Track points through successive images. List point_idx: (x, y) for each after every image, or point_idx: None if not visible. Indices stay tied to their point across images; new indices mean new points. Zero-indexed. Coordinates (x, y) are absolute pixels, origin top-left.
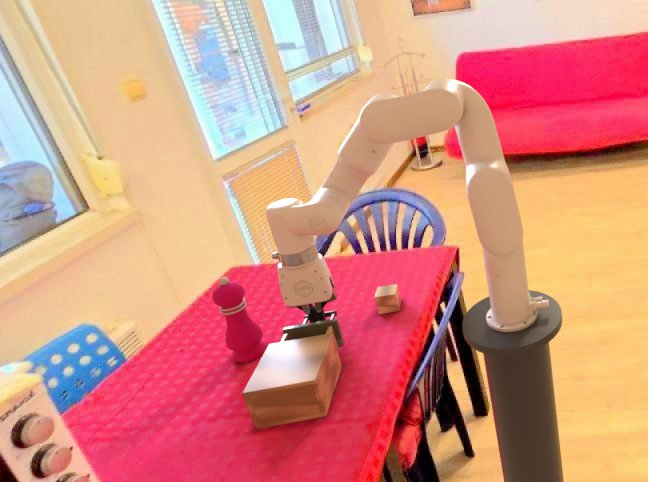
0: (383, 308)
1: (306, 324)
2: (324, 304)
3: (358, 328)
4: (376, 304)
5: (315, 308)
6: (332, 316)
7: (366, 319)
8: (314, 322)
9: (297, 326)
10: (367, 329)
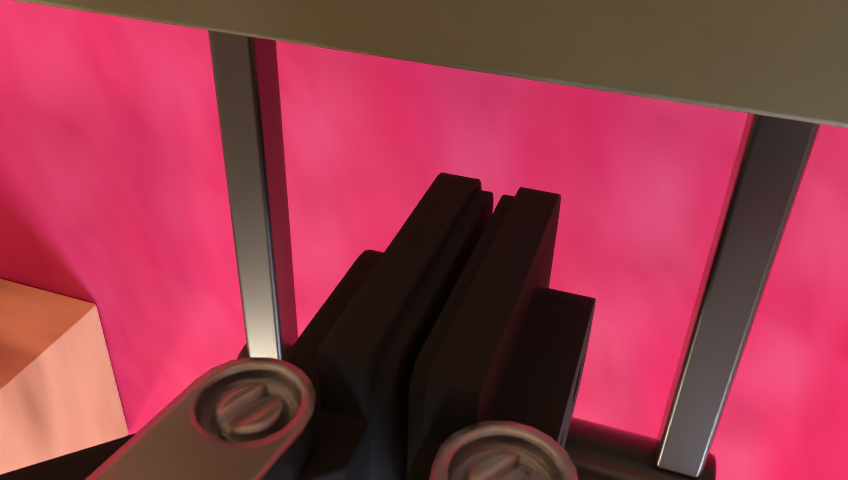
0: (12, 323)
1: (522, 3)
2: (60, 473)
3: (210, 179)
4: (16, 373)
5: (269, 464)
6: (252, 299)
7: (180, 286)
8: (312, 14)
9: (817, 12)
10: (115, 118)
